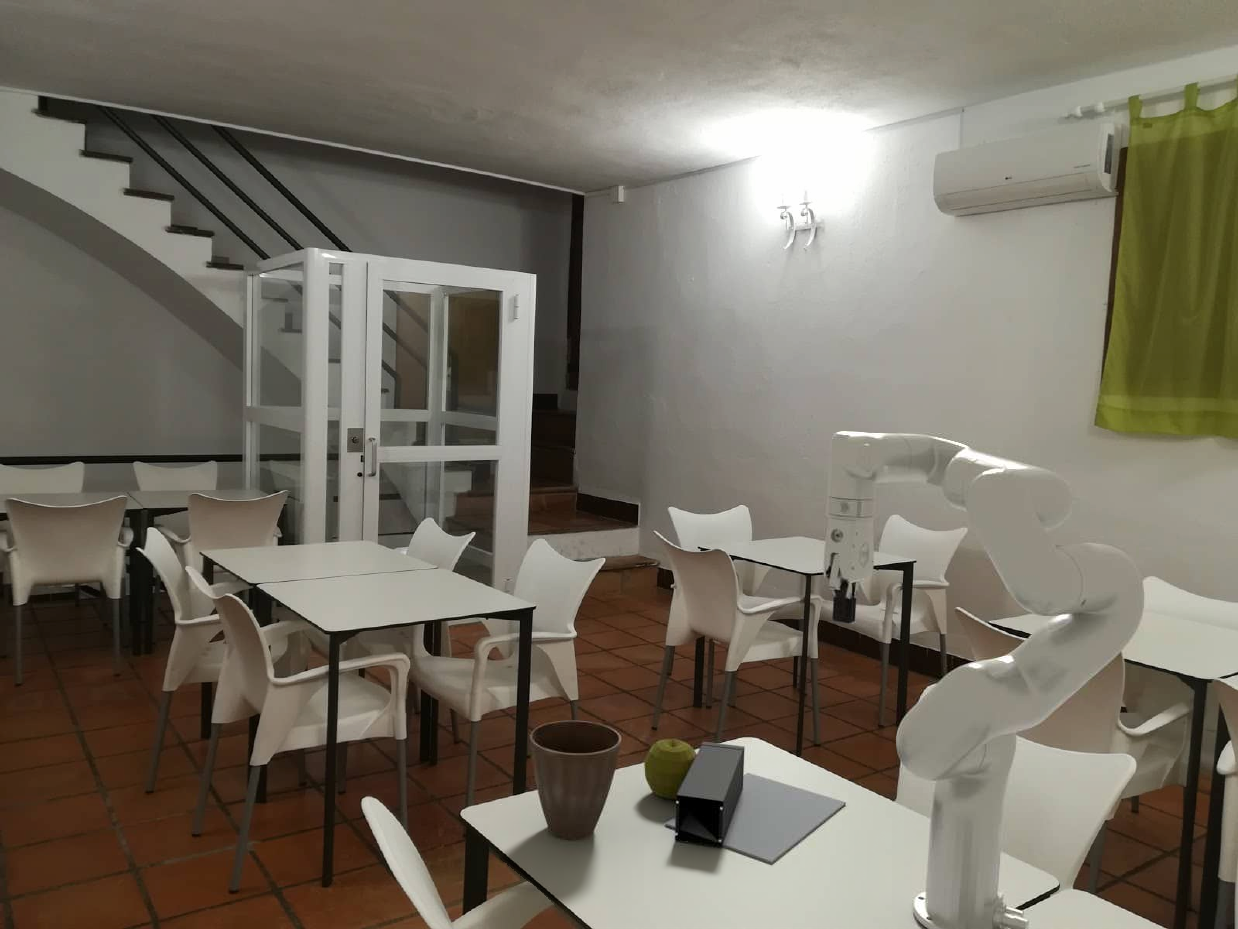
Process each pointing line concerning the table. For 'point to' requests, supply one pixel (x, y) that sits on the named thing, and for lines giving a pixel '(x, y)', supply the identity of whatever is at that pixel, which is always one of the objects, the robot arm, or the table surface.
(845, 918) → the table surface
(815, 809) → the mat
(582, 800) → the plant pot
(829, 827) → the table surface
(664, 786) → the apple
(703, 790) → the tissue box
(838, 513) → the robot arm
